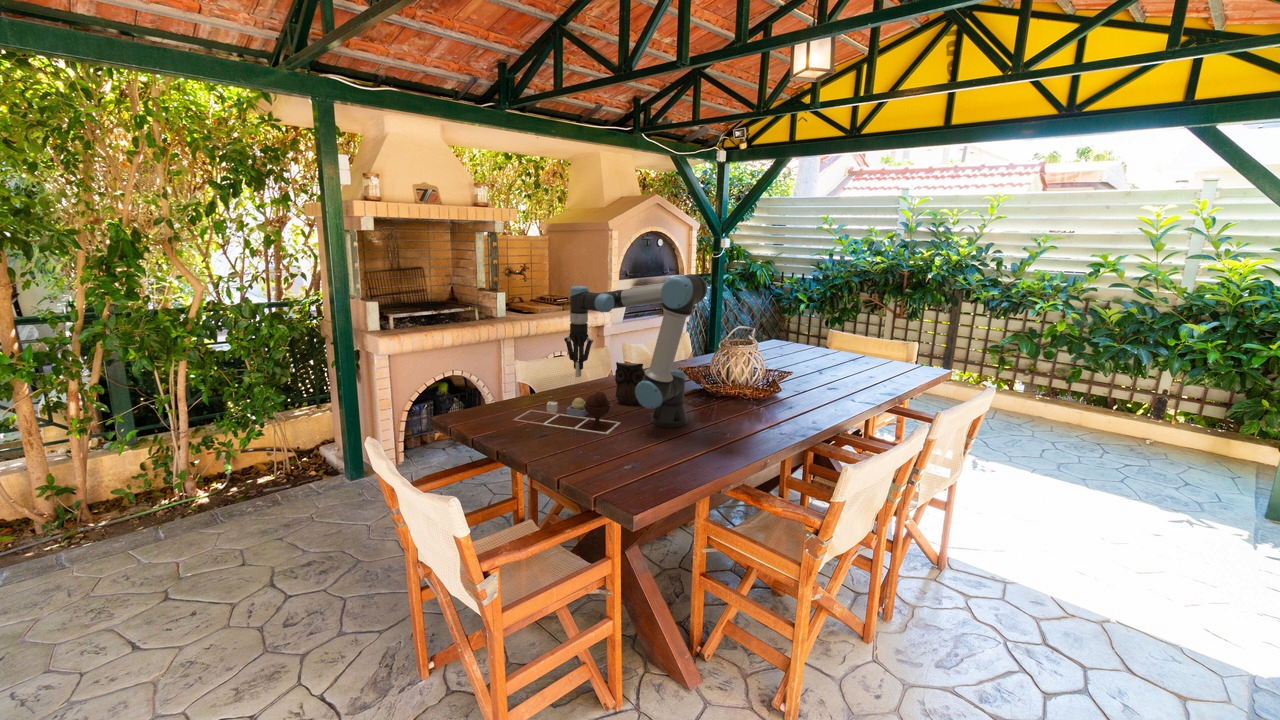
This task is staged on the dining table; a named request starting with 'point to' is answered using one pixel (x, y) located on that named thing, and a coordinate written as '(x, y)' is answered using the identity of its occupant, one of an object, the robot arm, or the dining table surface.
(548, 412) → the track
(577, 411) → the base
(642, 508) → the dining table surface
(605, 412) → the ice cream bowl
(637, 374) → the owl
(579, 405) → the dome
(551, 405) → the die
